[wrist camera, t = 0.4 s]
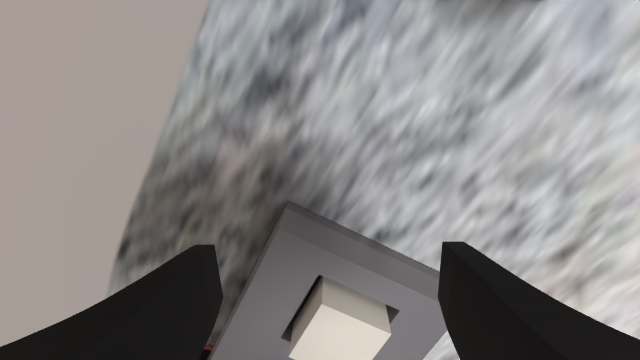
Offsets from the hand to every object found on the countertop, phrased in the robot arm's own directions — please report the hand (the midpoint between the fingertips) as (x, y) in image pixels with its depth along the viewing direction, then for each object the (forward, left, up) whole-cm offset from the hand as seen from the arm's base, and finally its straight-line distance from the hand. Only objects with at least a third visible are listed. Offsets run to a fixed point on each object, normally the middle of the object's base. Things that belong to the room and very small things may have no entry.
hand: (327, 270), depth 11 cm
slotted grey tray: (-11, +9, -10) cm, 17 cm away
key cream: (-7, +3, -7) cm, 11 cm away
